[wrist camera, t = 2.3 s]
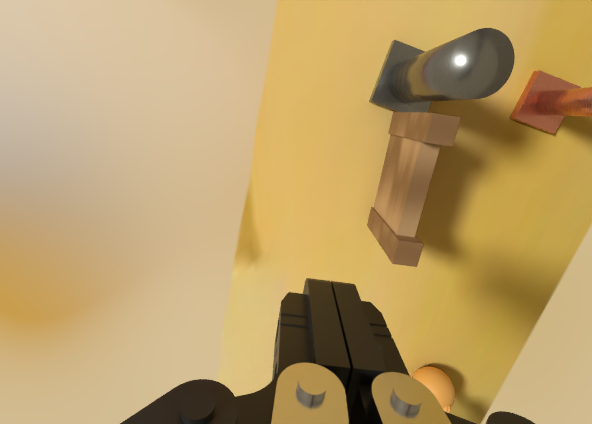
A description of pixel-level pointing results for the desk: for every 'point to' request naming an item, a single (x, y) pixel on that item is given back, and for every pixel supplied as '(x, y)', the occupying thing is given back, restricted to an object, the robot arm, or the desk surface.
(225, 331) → the desk surface
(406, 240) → the gate
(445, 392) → the figurine
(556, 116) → the gate posts
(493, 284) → the desk surface
